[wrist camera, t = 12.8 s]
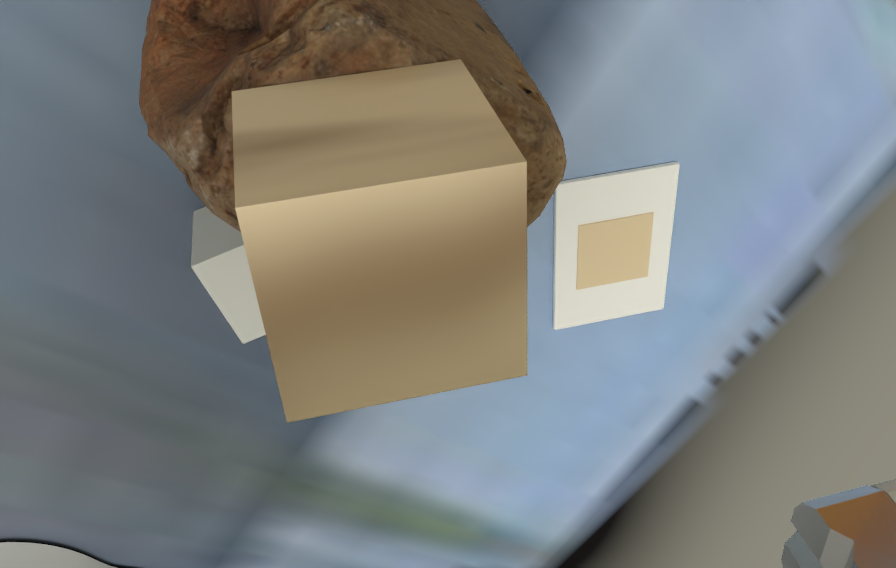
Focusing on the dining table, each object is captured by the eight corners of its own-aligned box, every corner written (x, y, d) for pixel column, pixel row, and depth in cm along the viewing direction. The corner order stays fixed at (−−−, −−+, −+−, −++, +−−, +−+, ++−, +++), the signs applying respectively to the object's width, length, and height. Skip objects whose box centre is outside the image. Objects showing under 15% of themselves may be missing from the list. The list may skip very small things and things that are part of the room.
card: (661, 306, 52) (664, 309, 51) (552, 327, 51) (554, 331, 50) (677, 161, 46) (680, 164, 45) (554, 182, 45) (557, 185, 44)
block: (450, -46, 37) (627, 157, 21) (356, 92, 39) (451, 366, 24) (225, -214, 31) (234, -111, 16) (135, -41, 34) (64, 196, 18)
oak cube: (470, 247, 21) (527, 375, 17) (274, 281, 21) (287, 422, 17) (461, 59, 18) (526, 161, 15) (231, 91, 18) (234, 207, 14)
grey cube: (327, 248, 44) (338, 304, 40) (240, 284, 44) (242, 343, 40) (287, 171, 41) (294, 223, 37) (193, 210, 41) (190, 266, 37)
